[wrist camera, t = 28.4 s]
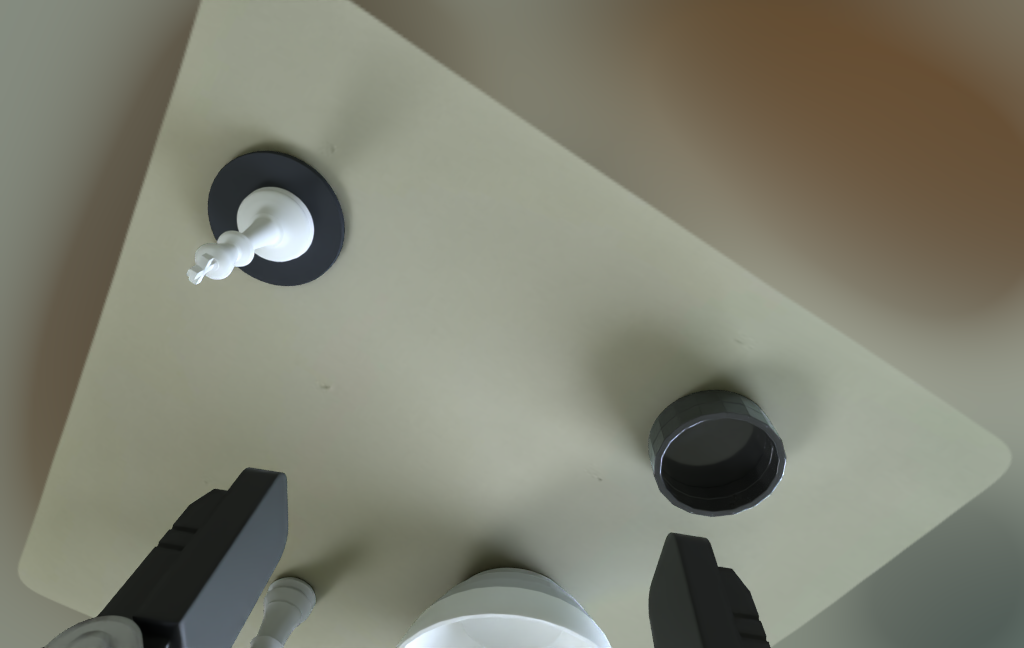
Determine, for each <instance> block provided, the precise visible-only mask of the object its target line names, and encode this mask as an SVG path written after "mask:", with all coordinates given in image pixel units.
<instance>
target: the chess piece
mask: <svg viewBox="0 0 1024 648" xmlns="http://www.w3.org/2000/svg"><path fill="white" fill-rule="evenodd" d="M237 226H238V230H239V232H238V231H226V232H224V233H223V234H221V235H220V237H219V239H218V240H217V243H207V244H204V245H202V246H200V247H199V248H198V249H197V251H196V253H195V262H196V265H195V266H193V267H192V268H190V269H189V271H188V272H187V274H186V275H187V276H189V277H190V278H189V279H188V280H189V281H191V282H192V283H194V284H195V285H196V284H198V283H200V282H201V280H202V278H203V276H204V275H205V276H207V277H209V278H212V279H223V278H225V277H227V276H228V275H229V274H230V273H231V272H232V270H233V268H234V266H235V267H241V266H245V265H248V264H249V263H250V262H251V261H252V259H253V257H254V253H256V254H257V255H259V256H260V257H262V258H264V259H267V260H270V261H276V262H284V261H289V260H292V259H295V258H297V257H299V256H301V255H302V254H303V253H305V252H306V251H307V249H308V248H309V247H310V245H311V243H312V240H313V236H314V225H313V220H312V217H311V214H310V212H309V210H308V209H307V207H306V206H305V204H304V203H303V202H302V201H301V200H300V199H299V198H298V197H297V196H295V195H294V194H292V193H291V192H289V191H287V190H284V189H282V188H277V187H263V188H260V189H257V190H255V191H253V192H252V193H251V194H249V195H248V196H247V197H246V198H245V199H244V200H243V201H242V203H241V205H240V207H239V209H238V213H237Z"/></svg>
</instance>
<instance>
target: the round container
mask: <svg viewBox="0 0 1024 648" xmlns="http://www.w3.org/2000/svg"><path fill="white" fill-rule="evenodd" d="M648 448H649V450H648V452H649V457H650V461H651V465H652V470H653V474H654V477H655V480H656V482H657V485H658V488H659V490H660V492H661V493H662V494H663V495H664V496H665V497H666V498H667V499H668V500H669V501H670V502H671V503H672V504H673V505H675V506H677V507H679V508H681V509H683V510H685V511H687V512H689V513H692V514H697V515H704V516H710V517H715V516H724V515H733V514H737V513H739V512H742V511H744V510H747V509H749V508H752V507H754V506H756V505H757V504H759V503H760V502H761V501H763V500H764V499H765V498H766V497H768V496H769V495H770V494H771V493H772V492H773V491H774V489H775V488H776V486H777V485H778V483H779V482H780V480H781V479H782V477H783V473H784V468H785V463H786V454H785V451H784V447H783V443H782V440H781V438H780V437H779V435H778V433H777V432H776V430H775V428H774V427H773V425H772V423H771V422H770V420H769V418H768V417H767V416H766V415H765V413H764V412H763V411H762V410H761V408H760V407H759V406H758V405H757V404H755V403H754V402H753V401H751V400H750V399H748V398H746V397H744V396H742V395H740V394H737V393H734V392H729V391H722V390H708V391H700V392H696V393H692V394H690V395H687V396H684V397H682V398H680V399H678V400H677V401H675V402H673V403H672V404H670V405H669V406H668V407H667V408H666V409H665V410H664V411H663V412H662V413H661V414H660V415H659V416H658V418H657V419H656V420H655V422H654V424H653V426H652V428H651V431H650V435H649V440H648Z"/></svg>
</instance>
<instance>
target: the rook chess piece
mask: <svg viewBox="0 0 1024 648" xmlns="http://www.w3.org/2000/svg"><path fill="white" fill-rule="evenodd" d="M315 604H316V596H315V593H314V591H313V589H312V588H311V586H310V585H309V584H307V583H306V582H305V581H303V580H301V579H298V578H293V577H286V578H281V579H279V580H277V581H275V582H274V583H272V584H271V585H270V587H269V589H268V592H267V594H266V596H265V598H264V610H263V611H264V618H263V621H262V624H261V627H260V630H259V632H258V634H257V636H256V637H255V638H253V639H252V641H251V642H250V644H251V648H283V646H284V644H285V642H286V640H287V639H288V637H289V635H290V634H291V632H292V631H293V630H294V628H295V627H297V626H299V625H300V623H301V622H303V621H305V620H306V619H307V618H308V616H309V615H310V613H311V610H312V609H313V607H314V606H315Z"/></svg>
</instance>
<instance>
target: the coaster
mask: <svg viewBox="0 0 1024 648" xmlns="http://www.w3.org/2000/svg"><path fill="white" fill-rule="evenodd" d="M263 187H277V188H282V189H284V190H287V191H289V192H291V193H292V194H294V195H295V196H297V197H298V198H299V199H300V200H301V201H302V202H303V203H304V204H305V206H306V207H307V209H308V210H309V212H310V214H311V217H312V220H313V225H314V236H313V240H312V243H311V245H310V247H309V248H308V249H307V251H306V252H305V253H303V254H302V255H301V256H299V257H297V258H295V259H292V260H289V261H284V262H276V261H270V260H267V259H264V258H262V257H260V256H259V255H257V254H256V253H254V257H253V259H252V261H251V262H250V263H249V264H248V265H245V266H241V267H238V268H240V269H241V270H242V271H244V272H245V273H247V274H248V275H250V276H252V277H254V278H256V279H258V280H260V281H263V282H266V283H269V284H274V285H280V286H295V285H301V284H305V283H308V282H310V281H312V280H315V279H316V278H318V277H319V276H321V275H322V274H324V273H325V272H326V271H327V270H328V269H329V268H330V267H331V266H332V265H333V263H334V262H335V261H336V259H337V257H338V256H339V253H340V251H341V248H342V245H343V241H344V232H345V228H344V218H343V213H342V209H341V206H340V203H339V201H338V199H337V197H336V195H335V193H334V191H333V190H332V188H331V187H330V185H329V184H328V183H327V181H326V180H325V179H324V178H323V177H322V176H321V175H320V174H319V173H318V172H317V171H316V170H315V169H313V168H312V167H311V166H309V165H308V164H306V163H305V162H303V161H302V160H300V159H298V158H296V157H293V156H291V155H288V154H285V153H280V152H275V151H257V152H252V153H248V154H245V155H242V156H239V157H237V158H236V159H234V160H232V161H230V162H229V163H228V164H227V165H225V166H224V167H223V168H222V169H221V171H220V172H219V173H218V175H217V176H216V178H215V179H214V182H213V184H212V186H211V189H210V193H209V199H208V215H209V221H210V225H211V229H212V231H213V234H214V236H215V239H216V240H218V239H219V237H220V235H221V234H223V233H224V232H226V231H238V232H239V230H238V226H237V213H238V209H239V207H240V205H241V203H242V201H243V200H244V199H245V198H246V197H247V196H248V195H249V194H251V193H252V192H253V191H255V190H257V189H260V188H263Z"/></svg>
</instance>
